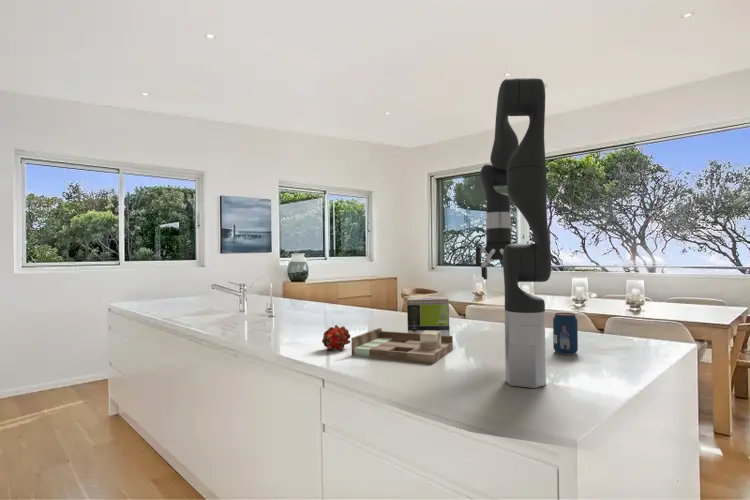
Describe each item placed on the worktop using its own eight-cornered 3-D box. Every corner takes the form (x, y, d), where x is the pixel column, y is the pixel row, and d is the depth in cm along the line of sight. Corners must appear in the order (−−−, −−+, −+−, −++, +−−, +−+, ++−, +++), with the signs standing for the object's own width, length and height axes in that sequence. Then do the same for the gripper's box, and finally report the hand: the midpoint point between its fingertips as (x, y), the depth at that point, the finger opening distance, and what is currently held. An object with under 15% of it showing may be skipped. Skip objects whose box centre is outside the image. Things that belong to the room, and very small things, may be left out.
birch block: (436, 349, 137) (436, 334, 137) (420, 348, 140) (420, 333, 140) (441, 346, 142) (441, 331, 142) (425, 345, 144) (425, 330, 144)
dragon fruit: (349, 351, 156) (328, 363, 146) (331, 334, 159) (309, 346, 149) (360, 332, 152) (339, 344, 142) (341, 316, 155) (319, 326, 145)
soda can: (570, 350, 146) (569, 312, 146) (582, 354, 139) (581, 315, 139) (549, 350, 145) (548, 312, 145) (560, 355, 138) (560, 315, 138)
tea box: (448, 335, 174) (447, 296, 174) (449, 340, 164) (449, 299, 164) (408, 335, 175) (407, 296, 175) (407, 340, 165) (406, 299, 165)
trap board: (433, 363, 130) (433, 344, 130) (351, 356, 141) (351, 338, 141) (452, 349, 148) (452, 332, 148) (379, 343, 159) (378, 327, 159)
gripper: (472, 227, 144) (473, 279, 143) (520, 225, 137) (520, 280, 137) (478, 229, 150) (479, 278, 150) (524, 227, 144) (525, 279, 144)
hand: (499, 279), depth 144 cm, fingers open, 8 cm apart
